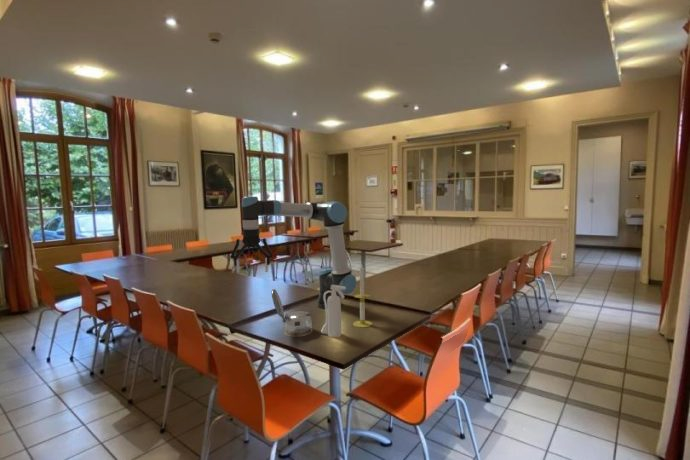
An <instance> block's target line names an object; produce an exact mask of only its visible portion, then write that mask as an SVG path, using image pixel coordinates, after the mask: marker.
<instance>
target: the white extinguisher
mask: <svg viewBox="0 0 690 460" xmlns="http://www.w3.org/2000/svg"><path fill="white" fill-rule="evenodd" d="M330 289H332V291H327V292H325V293H324V298H323V299H324V303H325V309H324V311H325V322H324V324H323V326H322V328H321V330H320V333H322V334H324V335H327V336H328V337H330V338H339V337H341V336H342V312H341V311H342V309H341V308H342V305H341V301H342V300H343V299H345V294H343V293H342V291H341V290H345V289H346V287H344V286H338V285H331V288H330ZM336 291H337V292H338V293H339V295H340V297H339V296H336ZM327 293H331V296H329V297H328V299H327V303H326V299H325V297H326V294H327ZM340 298H341V299H340Z"/></svg>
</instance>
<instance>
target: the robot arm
mask: <svg viewBox="0 0 690 460" xmlns="http://www.w3.org/2000/svg"><path fill="white" fill-rule="evenodd" d="M241 212H242V213H241V214H242V228H243V230H242V238H237V239H236V240H235V241H236V242H235V245H234V248H233V250H232V252H231V254H230V259H233V262H234V267H236V274H239V273H241V268H240V265H241V264H240V258H239V257H240V255H242V254H243V252H244V251H245V250H246V248H247V249H251V248H252V249H255V248H256V249H257V250H259V252H261V254H263V256H264V258H265V259H264V264H265V265H264V268H265V273H268V272H269V269H268V267H269V266H270V265H271V261H270V260H271V258H273V257H274V254H273V252H272V250H271V248H270V246H269V244H268V242H267V238H266V237H263V238H260V229H259V227H260V223H259V222H260V221H259V217H261V216H263V217H264V216H265V217H266V216H268V217H269V216H272V217H273V216H277V217H278V216H279V217H296V218H305V219H306V220H315V221H320V222H323V225H324V228H326V229H327V236H328V241H329V248H330V254H331V263H332V267H329V268H323V269H322V268H321V269H320V270H319V272H318V273H319V274H318V277H319V295H318V298H317V301H316V303H317V307H318V308H320V309H324V310H325V303H324V299H323V298H324V293H325V292H327V291H332V289H330V288H331V285H338V286H344V287H346V289H345V290H341V291H342V293H343V294H344V295H349V294H351V293H352V292H354V290H355V288H356V286H357V283H358V282H357V277H356V276H354V274H352V273H353V272H352V268H350V267H349V265H348V258H347V251H346V244H345V236H344V229H343V227H344V225H345V220H346V218H347V217H348V210H347V208H346V206H345V205H344V204H343V203H342V202H340V201H335V200H334V201H333V200H332V201H330V200H329V201H317V202H306V203H299V202H298V203H295V202H282V201H280V200H278V199H277V200H274V199H273V200H270V199H269V200H268V199H267V200H259V198H258V197H257V196H243V197H242V198H241ZM260 242H261V243H262V244H263V246H264V247H265V249H266V250H264V248H263V247H262V246H261V245H260ZM241 243H243V246H242V247H241V249H240V250H239V251H238V252H237V250H238V248H239V246H240V244H241ZM329 296H331V293H327V294H326V297H325V299H326V303H327V299H328V297H329ZM336 296H339V297H340V299H341V306H342V305H343V304H342V303H343V301H342V298H341V296H340V294H339V293H338V292H337V291H336Z"/></svg>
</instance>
